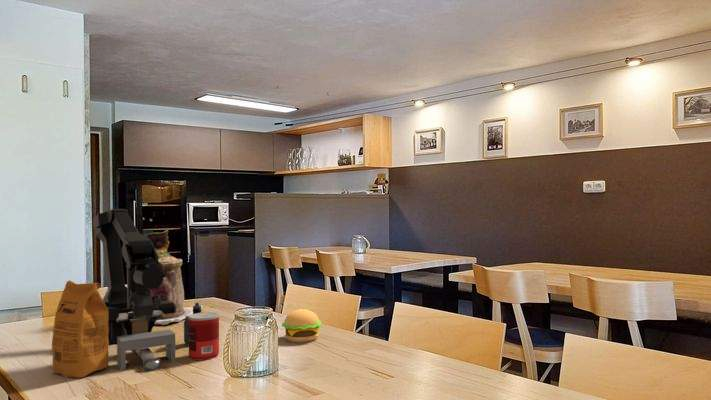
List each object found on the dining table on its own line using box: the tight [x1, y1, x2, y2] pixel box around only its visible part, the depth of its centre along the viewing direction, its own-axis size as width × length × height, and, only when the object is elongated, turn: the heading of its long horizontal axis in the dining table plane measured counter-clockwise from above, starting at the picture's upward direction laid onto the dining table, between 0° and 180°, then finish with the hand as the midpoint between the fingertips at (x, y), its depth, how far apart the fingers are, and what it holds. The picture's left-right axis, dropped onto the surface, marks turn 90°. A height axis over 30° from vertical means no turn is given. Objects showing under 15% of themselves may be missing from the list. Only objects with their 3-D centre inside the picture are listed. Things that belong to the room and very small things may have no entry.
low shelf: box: [116, 328, 176, 371], centre depth 132 cm, size 6×13×7 cm, turn 124°
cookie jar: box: [130, 229, 203, 326], centre depth 186 cm, size 25×25×32 cm
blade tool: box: [130, 318, 155, 361], centre depth 136 cm, size 16×4×8 cm, turn 34°
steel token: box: [142, 357, 161, 372], centre depth 127 cm, size 4×4×2 cm
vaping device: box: [183, 302, 202, 346], centre depth 149 cm, size 3×5×12 cm, turn 79°
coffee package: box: [51, 280, 110, 379], centre depth 125 cm, size 10×12×22 cm
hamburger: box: [281, 308, 322, 343], centre depth 155 cm, size 12×12×9 cm
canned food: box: [188, 311, 220, 361], centre depth 137 cm, size 8×8×11 cm
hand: (138, 341), depth 141 cm, fingers closed on blade tool, 4 cm apart
